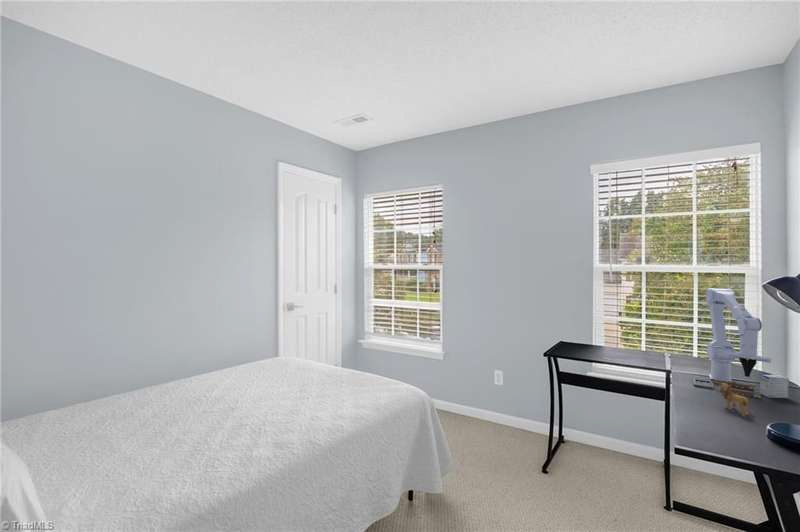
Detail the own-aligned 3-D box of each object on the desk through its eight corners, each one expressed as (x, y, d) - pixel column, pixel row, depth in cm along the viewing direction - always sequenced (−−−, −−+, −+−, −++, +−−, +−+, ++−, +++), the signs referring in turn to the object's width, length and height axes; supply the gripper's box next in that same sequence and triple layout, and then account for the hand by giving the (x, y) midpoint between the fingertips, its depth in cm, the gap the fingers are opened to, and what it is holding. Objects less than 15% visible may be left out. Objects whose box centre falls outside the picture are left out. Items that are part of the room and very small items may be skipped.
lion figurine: (713, 404, 152) (714, 381, 152) (726, 404, 152) (727, 381, 152) (747, 419, 137) (748, 394, 137) (762, 420, 137) (763, 394, 137)
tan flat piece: (714, 383, 181) (714, 377, 181) (754, 389, 173) (754, 384, 173) (717, 390, 169) (717, 385, 169) (760, 398, 161) (760, 392, 161)
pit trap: (692, 380, 184) (693, 378, 184) (711, 383, 180) (711, 381, 180) (693, 386, 175) (694, 384, 175) (713, 389, 171) (713, 387, 171)
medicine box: (778, 395, 166) (779, 375, 166) (788, 398, 162) (789, 378, 162) (759, 394, 166) (760, 374, 166) (769, 397, 162) (769, 377, 162)
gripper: (727, 344, 170) (726, 374, 170) (773, 349, 161) (771, 381, 161) (726, 341, 175) (724, 371, 175) (769, 346, 167) (768, 377, 167)
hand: (747, 376), depth 169 cm, fingers closed
